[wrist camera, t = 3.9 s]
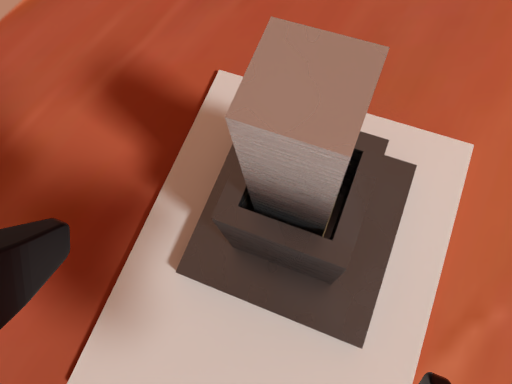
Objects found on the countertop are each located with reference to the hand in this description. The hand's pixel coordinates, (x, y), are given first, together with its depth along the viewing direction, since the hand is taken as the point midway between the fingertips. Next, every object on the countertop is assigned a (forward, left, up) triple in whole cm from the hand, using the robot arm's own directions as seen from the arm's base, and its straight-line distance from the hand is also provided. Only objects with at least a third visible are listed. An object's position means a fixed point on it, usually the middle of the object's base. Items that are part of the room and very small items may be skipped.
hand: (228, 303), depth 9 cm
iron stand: (+5, -2, -12) cm, 13 cm away
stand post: (+5, -2, -10) cm, 12 cm away
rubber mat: (+3, -1, -12) cm, 13 cm away
